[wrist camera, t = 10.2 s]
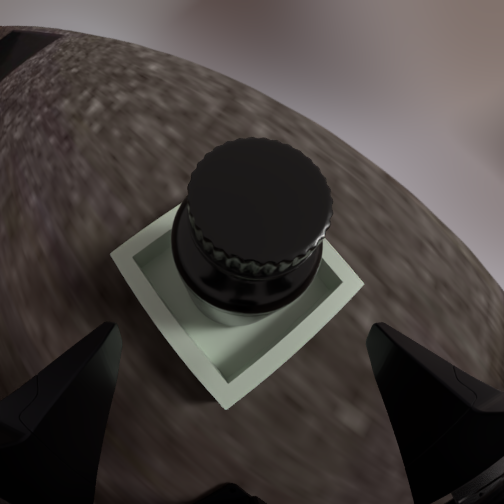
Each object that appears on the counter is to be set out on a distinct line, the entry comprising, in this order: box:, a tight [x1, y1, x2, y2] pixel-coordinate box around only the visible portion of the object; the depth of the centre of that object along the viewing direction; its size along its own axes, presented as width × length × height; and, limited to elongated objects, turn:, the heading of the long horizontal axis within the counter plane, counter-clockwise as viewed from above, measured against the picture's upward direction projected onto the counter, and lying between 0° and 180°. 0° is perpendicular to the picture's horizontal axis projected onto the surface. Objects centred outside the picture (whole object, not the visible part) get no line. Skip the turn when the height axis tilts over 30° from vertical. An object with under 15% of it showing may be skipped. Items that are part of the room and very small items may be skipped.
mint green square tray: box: [110, 204, 364, 410], centre depth 19 cm, size 12×12×3 cm
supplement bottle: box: [171, 137, 333, 326], centre depth 14 cm, size 7×7×12 cm
